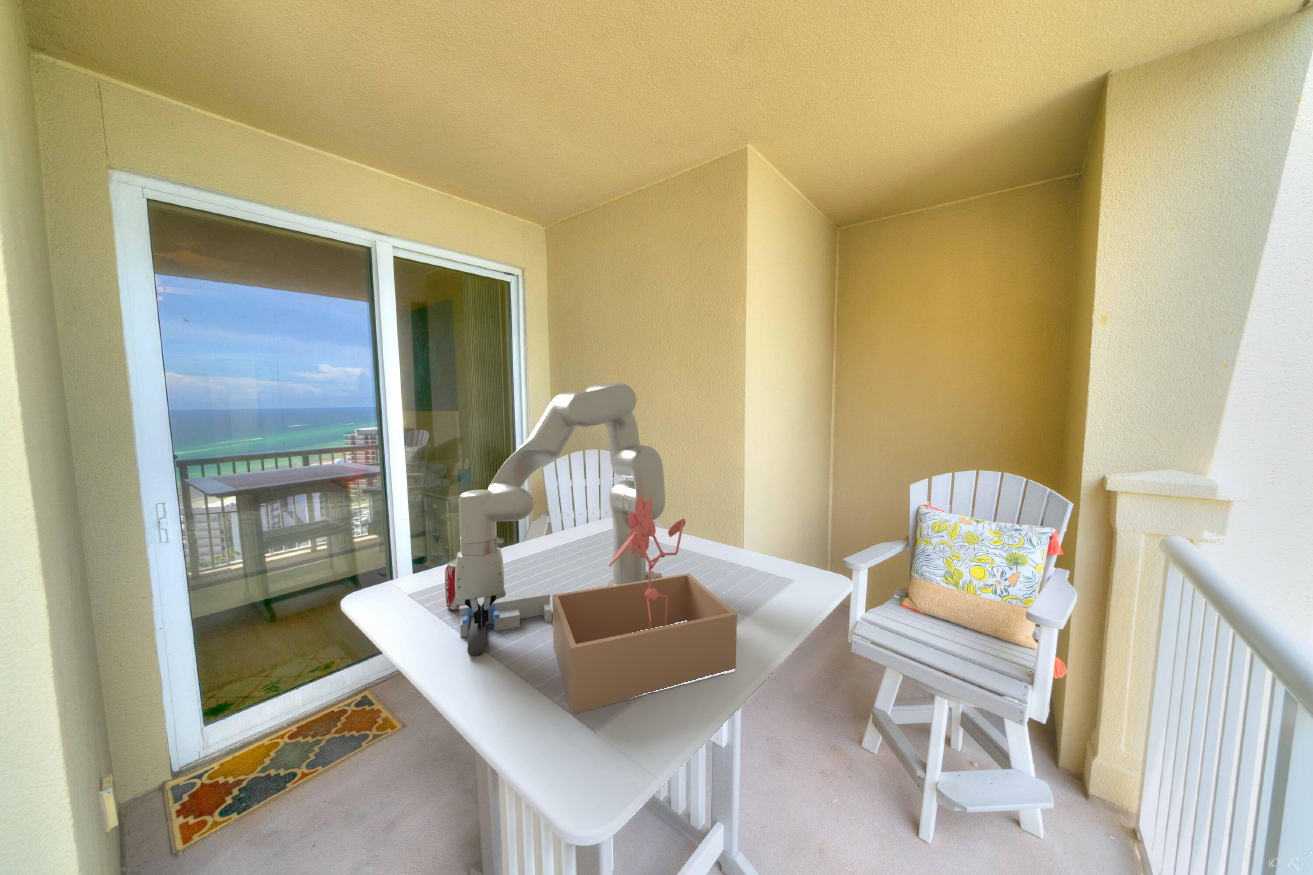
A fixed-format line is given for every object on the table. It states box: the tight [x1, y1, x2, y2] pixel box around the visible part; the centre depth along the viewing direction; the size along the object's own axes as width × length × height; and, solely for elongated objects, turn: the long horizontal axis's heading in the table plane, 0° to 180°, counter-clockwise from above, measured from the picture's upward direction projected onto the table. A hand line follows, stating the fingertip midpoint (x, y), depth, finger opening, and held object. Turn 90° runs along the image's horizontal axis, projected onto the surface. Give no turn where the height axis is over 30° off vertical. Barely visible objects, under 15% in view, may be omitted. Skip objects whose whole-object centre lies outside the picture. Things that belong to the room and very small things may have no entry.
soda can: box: [444, 558, 464, 611], centre depth 114 cm, size 7×7×12 cm
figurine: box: [608, 495, 687, 629], centre depth 90 cm, size 15×26×35 cm, turn 156°
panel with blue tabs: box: [459, 592, 553, 638], centre depth 105 cm, size 21×6×5 cm, turn 112°
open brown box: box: [552, 573, 738, 715], centre depth 91 cm, size 33×22×12 cm, turn 112°
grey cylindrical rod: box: [466, 615, 487, 658], centre depth 97 cm, size 12×4×4 cm, turn 21°
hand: (481, 624), depth 98 cm, fingers closed
